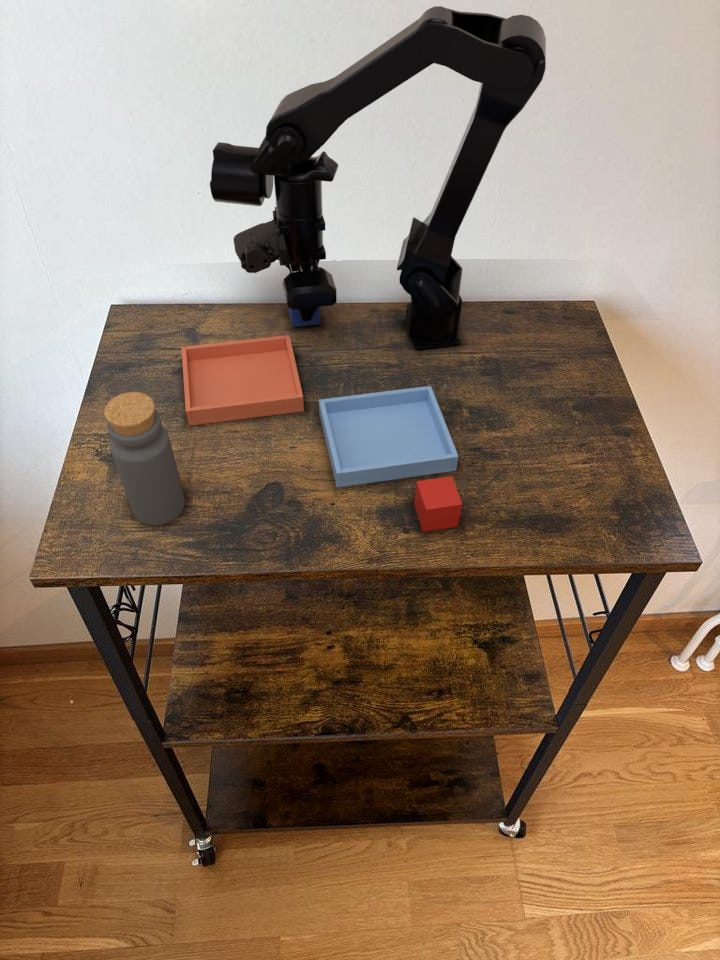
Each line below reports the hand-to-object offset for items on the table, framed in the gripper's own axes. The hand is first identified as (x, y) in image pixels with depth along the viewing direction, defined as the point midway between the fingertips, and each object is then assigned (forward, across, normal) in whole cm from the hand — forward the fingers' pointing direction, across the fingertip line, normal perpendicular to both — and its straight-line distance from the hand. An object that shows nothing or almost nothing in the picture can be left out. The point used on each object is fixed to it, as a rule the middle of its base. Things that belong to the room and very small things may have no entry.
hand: (304, 311), depth 103 cm
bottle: (+2, +30, -21) cm, 37 cm away
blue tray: (+1, +26, +6) cm, 26 cm away
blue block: (+1, 0, 0) cm, 1 cm away
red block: (+1, +38, +9) cm, 39 cm away
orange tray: (+1, +12, -10) cm, 16 cm away
